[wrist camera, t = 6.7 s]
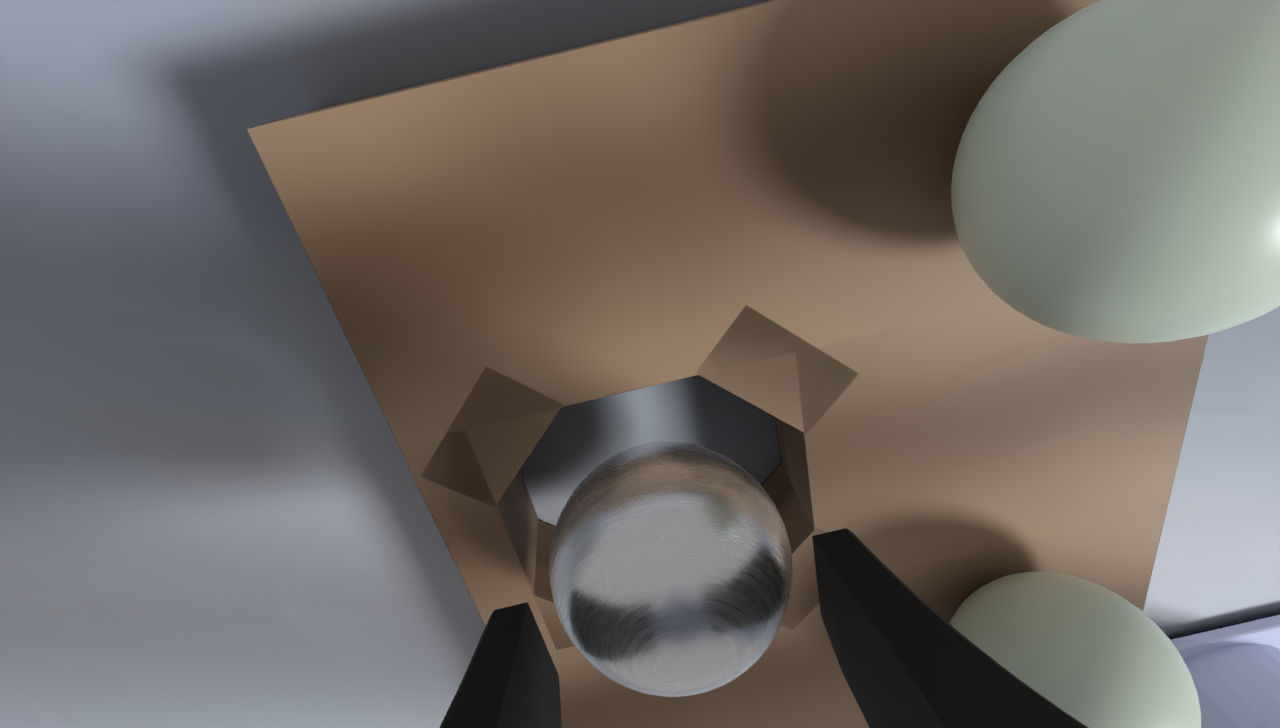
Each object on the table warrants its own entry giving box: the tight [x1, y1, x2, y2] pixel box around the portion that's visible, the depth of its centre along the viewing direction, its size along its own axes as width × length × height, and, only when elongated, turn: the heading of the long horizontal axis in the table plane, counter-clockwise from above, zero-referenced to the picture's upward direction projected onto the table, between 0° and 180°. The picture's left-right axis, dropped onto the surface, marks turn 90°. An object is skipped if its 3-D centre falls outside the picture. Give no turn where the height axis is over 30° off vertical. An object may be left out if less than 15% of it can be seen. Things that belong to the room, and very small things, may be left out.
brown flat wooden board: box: [247, 0, 1208, 728], centre depth 15 cm, size 18×16×2 cm
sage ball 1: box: [951, 0, 1280, 343], centre depth 9 cm, size 5×5×5 cm
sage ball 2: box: [949, 571, 1201, 728], centre depth 14 cm, size 5×5×5 cm
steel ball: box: [549, 442, 793, 697], centre depth 12 cm, size 5×5×5 cm
